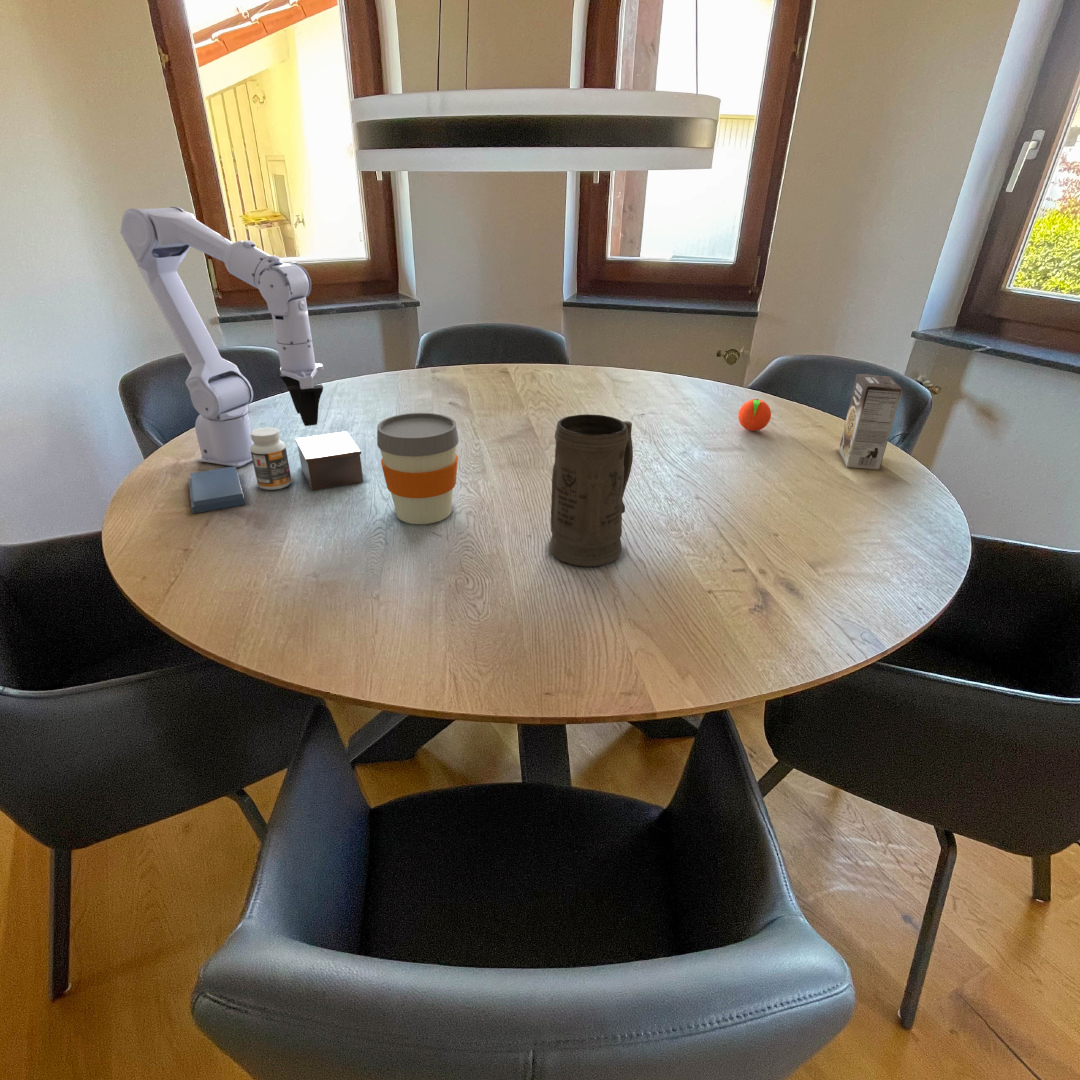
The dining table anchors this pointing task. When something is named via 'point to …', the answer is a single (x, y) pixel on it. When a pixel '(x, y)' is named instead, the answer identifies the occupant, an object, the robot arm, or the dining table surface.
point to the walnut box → (330, 460)
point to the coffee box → (869, 420)
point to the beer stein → (589, 488)
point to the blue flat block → (215, 489)
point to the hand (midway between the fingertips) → (306, 418)
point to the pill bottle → (270, 459)
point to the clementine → (754, 415)
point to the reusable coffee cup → (419, 464)
